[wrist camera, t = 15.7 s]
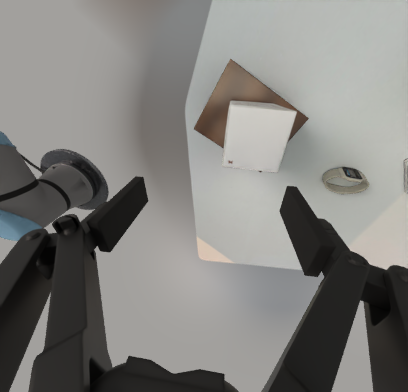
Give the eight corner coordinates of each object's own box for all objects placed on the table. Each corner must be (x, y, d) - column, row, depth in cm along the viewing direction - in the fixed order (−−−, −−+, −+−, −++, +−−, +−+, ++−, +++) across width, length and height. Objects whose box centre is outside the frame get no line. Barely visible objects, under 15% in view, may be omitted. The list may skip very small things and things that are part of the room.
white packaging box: (263, 147, 32) (278, 175, 22) (224, 142, 33) (219, 168, 22) (275, 102, 28) (300, 110, 18) (230, 98, 29) (228, 104, 18)
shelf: (201, 120, 41) (193, 128, 32) (231, 65, 34) (230, 58, 26) (255, 156, 43) (260, 172, 35) (291, 111, 37) (309, 118, 29)
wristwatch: (366, 169, 41) (382, 178, 37) (352, 191, 44) (364, 202, 40) (327, 164, 42) (337, 172, 38) (316, 186, 45) (324, 196, 41)
